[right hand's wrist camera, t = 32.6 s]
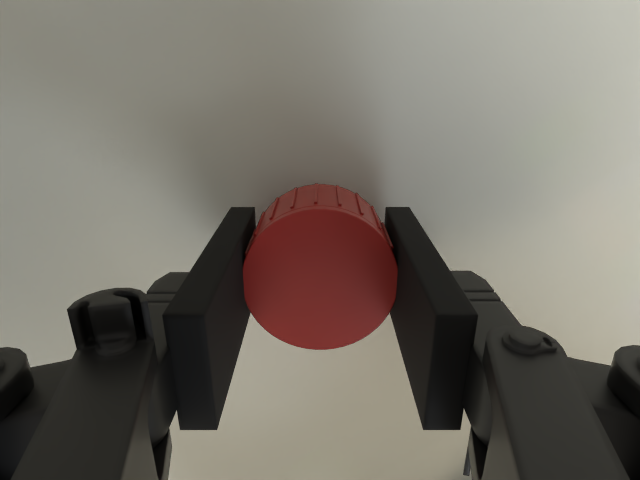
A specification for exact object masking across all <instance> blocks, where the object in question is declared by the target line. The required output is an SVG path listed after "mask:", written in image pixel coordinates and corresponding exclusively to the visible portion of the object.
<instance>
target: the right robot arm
mask: <svg viewBox="0 0 640 480" xmlns="http://www.w3.org/2000/svg"><path fill="white" fill-rule="evenodd" d="M385 228H386V230H387V233H388V235H389V238H390V240H391V242H392V245H393V247H394V248H392V251H393V254H394V256H395V259H396V262H397V267H398V274H397V287H396V299H395V302H394V305H393V307H392V309H391V310H390V315H391V318H392V322H393V325H394V329H395V332H396V336H397V339H398V343H399V346H400V350H401V353H402V357H403V360H404V364H405V367H406V371H407V374H408V378H409V381H410V385H411V388H412V392H413V395H414V399H415V402H416V406H417V409H418V413H419V416H420V420H421V423H422V427H423V430H460V428H461V422H462V416H463V409H465V412H466V414H467V416H468V419H469V421H470V424H471V430H470V436H469V442H468V448H467V454H466V460H465V466H464V473H463V475H467V476H469V473H470V468H471V474H472V480H640V346H637V345H631V346H625V347H621V348H620V349H618V350H617V351H616V352H615V354H614V357H613V361H612V364H611V366H609V365H604V364H599V363H594V362H588V361H583V360H578V359H574V358H570V357H567V355H566V353H565V351H564V349H563V348H562V347H561V345H560V344H559V343H558V342H557V341H556V340H555V339H553V338H552V337H550V336H549V335H547V334H546V333H544V332H541V331H539V330H536V329H534V328H531V327H526V326H521V324H520V323H519V322H518V321H517V319H516V318H515V317H514V316H513V314H512V313H511V312H510V310H509V309H508V308H507V307H506V305H505V304H504V303H503V301H501V299H500V298H499V296H498V295H497V294H496V293H495V292H494V290H493V289H492V287H491V286H490V285H489V284H488V282H487V281H486V280H485V279H483V278H482V277H480V276H478V275H477V274H475V273H473V272H472V271H450V270H449V269H448V267H447V265H446V264H445V262H444V261H443V259H442V258H441V256H440V255H439V253H438V251H437V250H436V248H435V247H434V245H433V244H432V242H431V241H430V239H429V237H428V236H427V234H426V233H425V231H424V230H423V228H422V227H421V225H420V223H419V222H418V220H417V219H416V217H415V216H414V214H413V213H412V211H411V209H410V208H409V207H386V211H385ZM254 229H256V222H255V207H231V208H230V210H229V212H228V213H227V215H226V216H225V218H224V219H223V221H222V222H221V224H220V226H219V227H218V229H217V230H216V232H215V233H214V235H213V236H212V238H211V240H210V241H209V243H208V244H207V246H206V247H205V249H204V250H203V252H202V254H201V255H200V257H199V258H198V260H197V261H196V263H195V264H194V266H193V268H192V269H191V271H190V272H170V273H168V274H166V275H165V276H163V277H161V278H160V279H158V280H156V281H155V282H154V283H153V285H152V286H151V287H150V288H149V290H148V291H147V294H145V293H143V292H142V291H141V290H137V289H133V288H113V289H107V290H101V291H98V292H95V293H92V294H89V295H86V296H85V297H83V298H81V299H79V300H77V301H75V302H74V303H73V304H72V305H71V306H70V307H69V308H68V309H67V312H68V316H69V320H70V324H71V328H72V332H73V336H74V340H75V344H76V348H77V350H76V352H75V354H74V356H73V358H72V359H70V360H66V361H62V362H57V363H52V364H47V365H41V366H36V367H31V368H30V366H29V362H28V359H27V356H26V354H25V353H24V352H23V351H21V350H20V349H16V348H10V347H4V348H0V480H168V475H169V467H170V459H171V451H172V443H171V436H170V430H169V427H170V424H171V422H172V420H173V417H174V415H175V412H176V410H177V414H178V420H179V426H180V430H217V428H218V425H219V421H220V418H221V414H222V411H223V407H224V404H225V400H226V397H227V393H228V390H229V386H230V382H231V379H232V375H233V372H234V368H235V365H236V361H237V358H238V354H239V351H240V347H241V344H242V340H243V337H244V333H245V330H246V326H247V323H248V319H249V316H250V310H249V308H248V306H247V304H246V301H245V295H244V282H243V263H244V260H245V257H246V256H245V251H246V249H247V246H248V244H249V242H250V239H251V237H252V234H253V232H254Z"/></svg>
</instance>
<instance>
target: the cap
mask: <svg viewBox="0 0 640 480" xmlns="http://www.w3.org/2000/svg"><path fill="white" fill-rule="evenodd" d="M392 248H394V247H393V245H392V242H391V240H390V238H389V235H388V233H387V230H386V228H385V225H384V223H383V222H382V223H381V221H380V219H379V217H378V215H377V214H376V212H375V209H374V207H373V206H370V205H369V204H368V203H367V202H366V201H365V200H364V199H362V198H361V197H360V196H359V195H358V194H357V193H356V194H355V193H353V192H351V191H349V190H347V189H344V188H341V187H339V186H338V185H336V186H334V185H326V184H318V183H316V184H314V185H307V186H303V187H299V188H297V187H296V188H294V190H291V191H289V192H287V193H286V194H284V195H282V196H281V197H279V198H278V197H277V198H276V200H275V201H274V202H273V203H272V204H271V205H270V206H269V207H268V209H267V210H266V212H264V211H263V213H262V215H261V218H260V220H259V222H258V225H257V227H256V229H254V232H253V234H252V237H251V239H250V242H249V244H248V246H247V249H246V251H245V256H246V257H245V260H244V263H243V282H244V295H245V301H246V304H247V306H248V308H249V310H250V312H251V313H252V315H253V316H254V318H255V319H256V320H257V322H258V323H259V324H260V325H261V326H262V327H263V328H264V329H265V330H266V331H268V332H269V333H270V334H271V335H273V336H275V337H276V338H278V339H279V340H282V341H284V342H286V343H288V344H291V345H294V346H297V347H301V348H306V349H315V350H326V349H334V348H339V347H343V346H347V345H349V344H352V343H355V342H357V341H359V340H361V339H363V338H364V337H366V336H367V335H369V334H370V333H371V332H373V331H374V330H375V329H376V328H377V327H378V326H379V325H380V324H381V323H382V322H383V321H384V320H385V318H386V317H387V315H388V314H389V312H390V310H391V309H392V307H393V305H394V302H395V299H396V287H397V274H398V267H397V262H396V259H395V256H394V254H393V251H392Z"/></svg>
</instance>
